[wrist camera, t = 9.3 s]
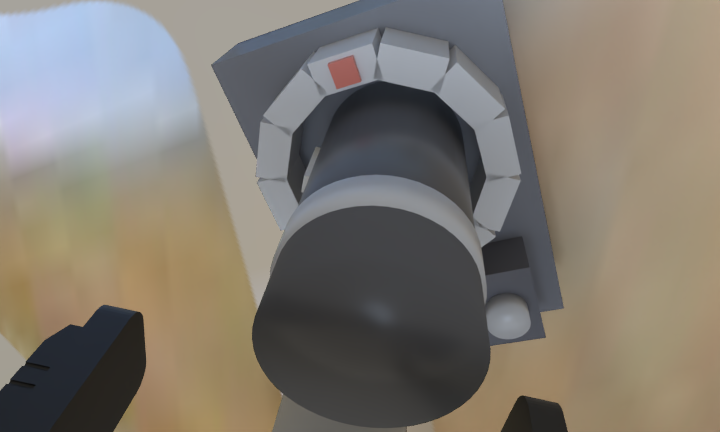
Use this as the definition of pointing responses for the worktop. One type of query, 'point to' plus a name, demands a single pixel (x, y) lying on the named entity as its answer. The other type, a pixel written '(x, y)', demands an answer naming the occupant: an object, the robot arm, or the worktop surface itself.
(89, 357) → the robot arm
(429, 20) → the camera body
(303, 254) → the lens
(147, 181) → the worktop surface
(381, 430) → the can
